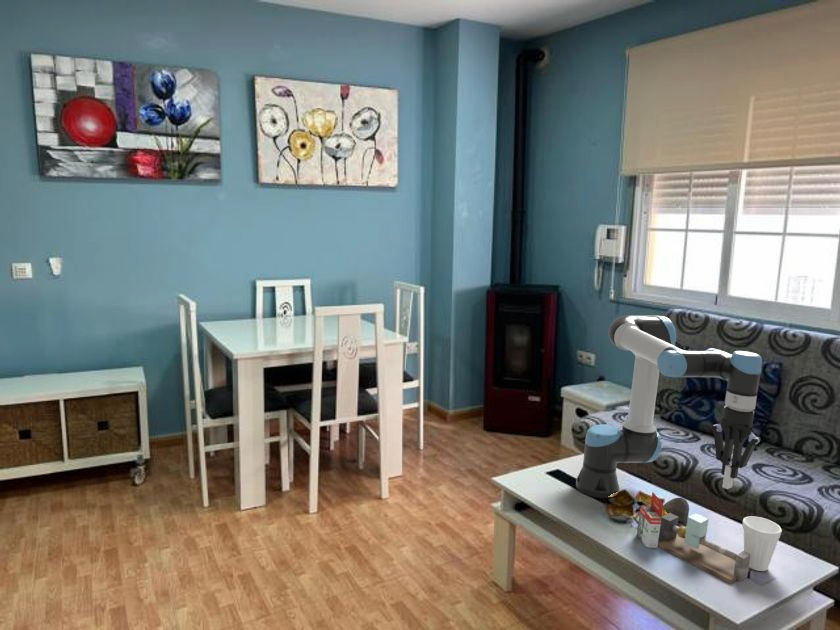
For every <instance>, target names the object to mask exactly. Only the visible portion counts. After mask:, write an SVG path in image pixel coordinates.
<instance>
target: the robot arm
mask: <svg viewBox="0 0 840 630" xmlns="http://www.w3.org/2000/svg"><path fill="white" fill-rule="evenodd" d="M607 331H608V333H607V336H608V339H609V340H610V343H611V344H613V346H615V347H616V348H618V349H620V350H621V351H629V352H631V353H632V354H633V355H634V365H633V366H634V367H633V374H632V382H631V390H630V398H629V406H628V416H627V419H626V420H624V422H623V423H622V427H621V429H620V428H619V427H618V426H616V425H612V424H607V423H605V424H601V423H600V424H594V425H592V426H590V427H589V428H588V429H587V431H586V435H585V439H584V442H585V443H584V450H583V461H582V466H581V470H580V471H579V473H578V476H577V477H576V479H575V480H576V481H575V487H576V489H577V490H578V491H579V492H581V493H582V494H584V495H586V496H590V497H593V498H597V499H608V498H607V497H608V496H610V495H611V494H613V493H616V492H618V491H620V485H619V480H618V476H617V467H618V466H617V465H618V464H620V463H621V464H623V463H624V464H627V463H629V464H630V463H632V464H633V463H634V464H637V463H638V464H639V463H640V464H645V463H653V462H654V461H656V460H657V459H658V458H659V456H660V454H661V451H662V446H663V443H662V442H663V441H662V437H661V434H660V433H659V432H658V431H657V427H656V426H655V425H654V418H655V417H654V416H655V411H656V410H655V409H656V400H657V393H658V386H659V377H660V374H661V375H662V376H663V377H671V378H718V379H721V380H723V381H726V382H727V385H726V393H725V399H724V404H725V405H724V407H723V413H722V419H721V421H720V422H719V423H716V424H713V425H711V431H712V433H713V439H714V449H715V458H716V460H717V461H720V462H721V465H722V466H721V472H720V473H721V475H723V480H722V488H723V489H726V490H729V489H731V488H733V483H734V479H737V478H738V473H739V469H743V468H745V467H747V465H748V463H749V461H750V459H751V456H752V454H753V452H754V449H755V448H756V446H757V444H759V443H760V442H761V440H762V439H761V437H759V436H756V435H755V434H754V429H753V424H754V423H753V422H754V417H755V411H754V410H756V404H757V397H758V391H759V386H760V378H761V373H762V364H763V359H762V356H761V355H760V354H758V353H755V352H751V351H744V350H735V351H733V352H732V353H729V352H727V351H725V350H722V349H717V348H715V347H714V348H712V347H710V348H707V349H705V350H684V349H681V348H679V347H678V346H676V341H677V331H676V327H675V326H674V323H673V322H672V321H671V319H670V318H668V317H667V316H664V315H655V314H653V315H652V314H650V315H649V314H647V315H646V314H645V315H644V314H638V315H637V314H636V315H635V314H634V315H633V314H625V315H621V316H619V317H617V318H616V319H615V318H614V320H612V322H611V323H610V324H609V327H608V330H607ZM723 433H724V434H723ZM723 435H724V438H723ZM747 438H748V443H747V444H746V447H745V449H744V451H743V447H744V443H745V440H747ZM742 451H743V454H742Z"/></svg>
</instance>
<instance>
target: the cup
mask: <svg viewBox="0 0 840 630" xmlns="http://www.w3.org/2000/svg"><path fill="white" fill-rule="evenodd" d="M742 519H743V520H742V529H743V551H745V552H747V553H749V554H751V556H750V562H749V567H750V569H752V570H754V571H758V572H766V571H768V569H769V566H770V564H771V561H772V557H773V556H774V553H775V550H776V547H777V545H778V542H779V540H780V538H781V535H782V531H783V529H782V528H781V526H780V525H779V524H778V523H776V522H774V521H772V520H770V519H768V518H764V517H760V516H753V515H750V516H746V517H743V518H742Z"/></svg>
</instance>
